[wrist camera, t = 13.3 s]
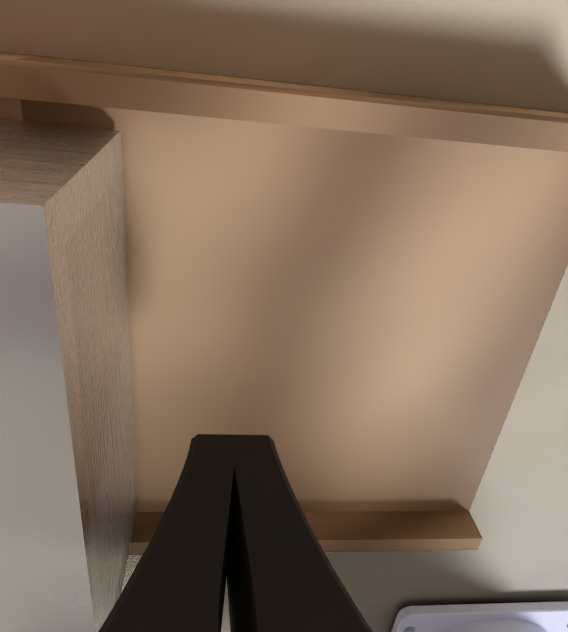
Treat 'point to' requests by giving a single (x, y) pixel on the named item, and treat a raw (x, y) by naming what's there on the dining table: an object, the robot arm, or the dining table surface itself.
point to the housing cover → (63, 378)
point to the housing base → (323, 281)
